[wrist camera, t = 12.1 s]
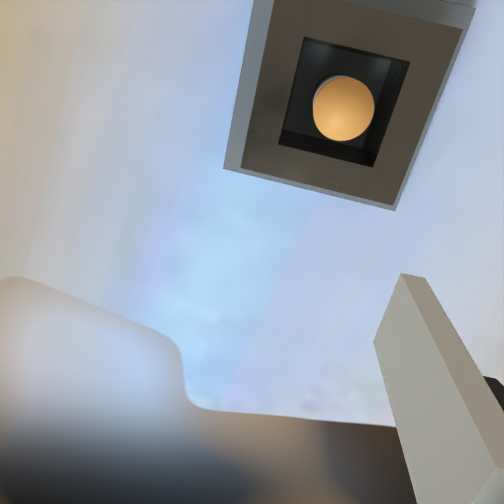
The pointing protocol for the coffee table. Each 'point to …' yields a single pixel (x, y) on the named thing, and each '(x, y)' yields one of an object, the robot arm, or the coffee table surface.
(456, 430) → the robot arm
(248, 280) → the coffee table surface
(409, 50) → the hollow square block
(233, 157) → the keeper
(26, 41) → the coffee table surface
